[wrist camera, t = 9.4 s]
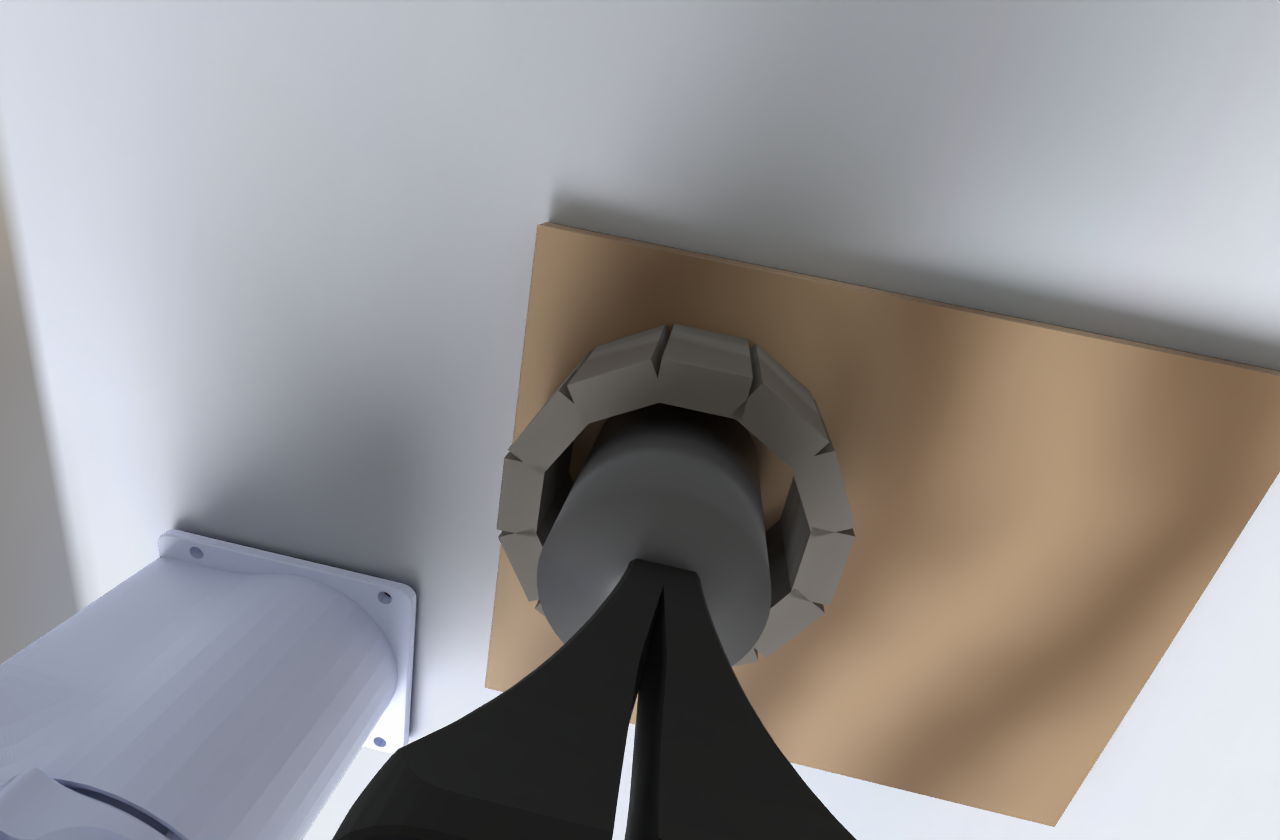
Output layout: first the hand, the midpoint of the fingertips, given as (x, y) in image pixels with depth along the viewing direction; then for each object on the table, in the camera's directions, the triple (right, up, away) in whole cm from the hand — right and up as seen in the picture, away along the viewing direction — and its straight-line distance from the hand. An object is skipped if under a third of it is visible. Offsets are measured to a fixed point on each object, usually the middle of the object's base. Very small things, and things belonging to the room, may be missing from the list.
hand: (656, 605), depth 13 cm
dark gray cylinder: (+1, +2, +6) cm, 6 cm away
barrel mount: (+5, 0, +7) cm, 9 cm away
